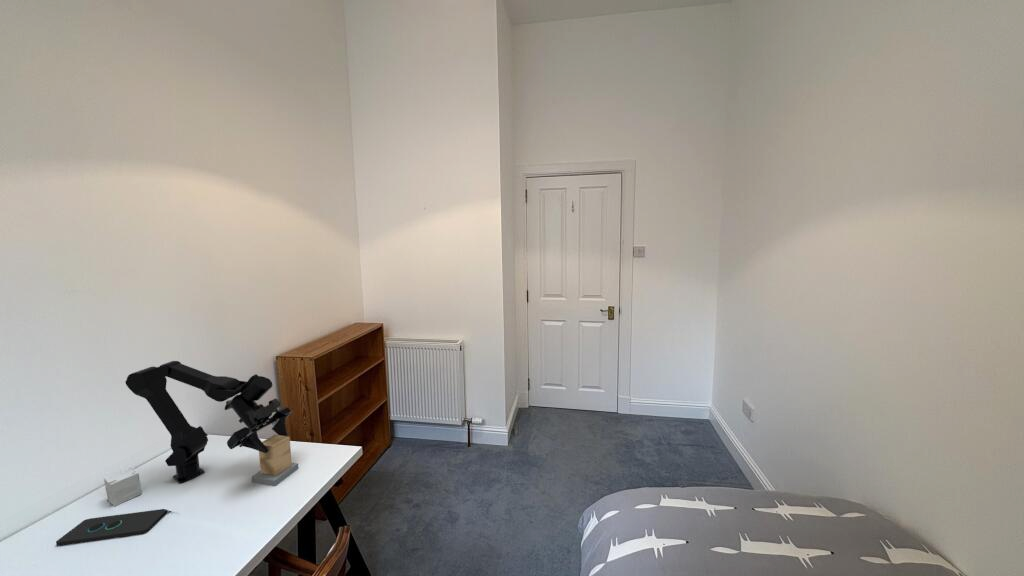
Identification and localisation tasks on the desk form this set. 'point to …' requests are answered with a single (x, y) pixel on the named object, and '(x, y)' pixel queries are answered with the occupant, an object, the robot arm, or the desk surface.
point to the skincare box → (122, 486)
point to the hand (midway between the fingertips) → (277, 446)
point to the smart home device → (112, 527)
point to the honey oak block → (275, 455)
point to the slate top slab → (274, 480)
